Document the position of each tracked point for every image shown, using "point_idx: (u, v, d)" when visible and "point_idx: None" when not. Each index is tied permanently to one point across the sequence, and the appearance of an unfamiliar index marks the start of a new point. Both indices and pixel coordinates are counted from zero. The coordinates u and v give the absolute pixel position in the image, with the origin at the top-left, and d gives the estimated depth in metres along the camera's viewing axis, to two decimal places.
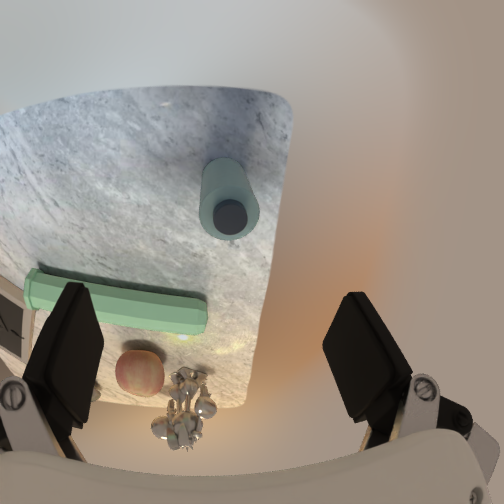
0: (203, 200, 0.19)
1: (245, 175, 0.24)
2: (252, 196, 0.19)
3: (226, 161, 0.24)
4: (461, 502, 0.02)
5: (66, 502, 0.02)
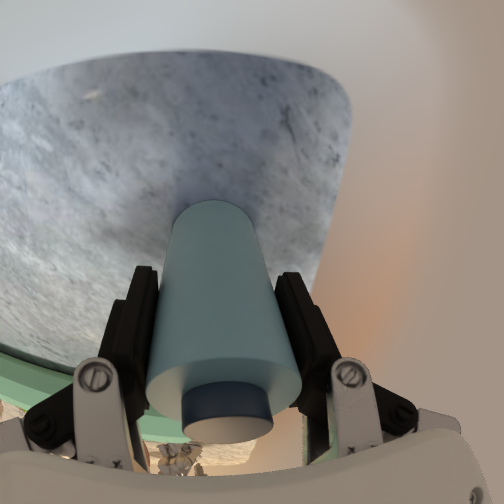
0: (150, 381, 0.06)
1: (259, 252, 0.11)
2: (288, 370, 0.06)
3: (216, 215, 0.12)
4: (461, 502, 0.02)
5: (66, 502, 0.02)
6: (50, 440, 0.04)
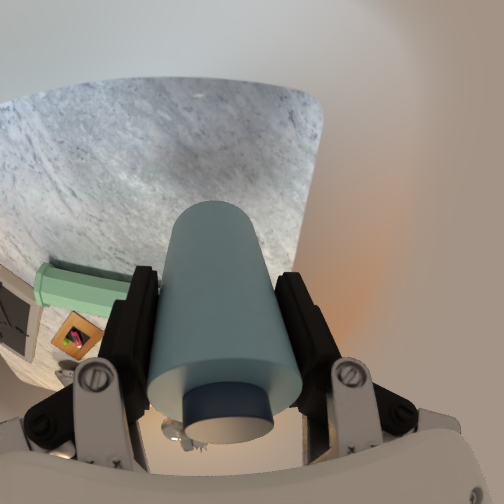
0: (151, 381, 0.06)
1: (259, 252, 0.11)
2: (289, 371, 0.06)
3: (217, 215, 0.12)
4: (461, 502, 0.02)
5: (66, 502, 0.02)
6: (51, 440, 0.04)
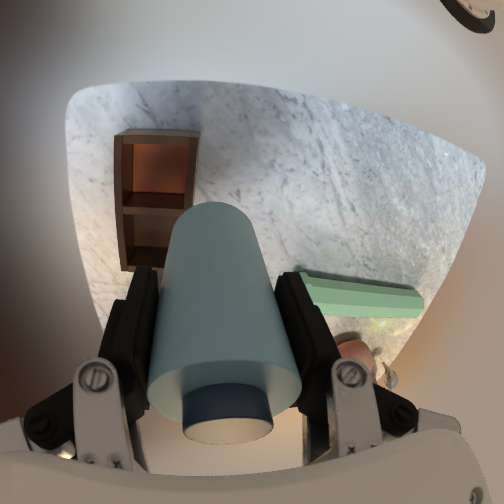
0: (151, 382, 0.06)
1: (259, 254, 0.11)
2: (288, 372, 0.06)
3: (216, 216, 0.12)
4: (461, 502, 0.02)
5: (66, 502, 0.02)
6: (50, 440, 0.04)
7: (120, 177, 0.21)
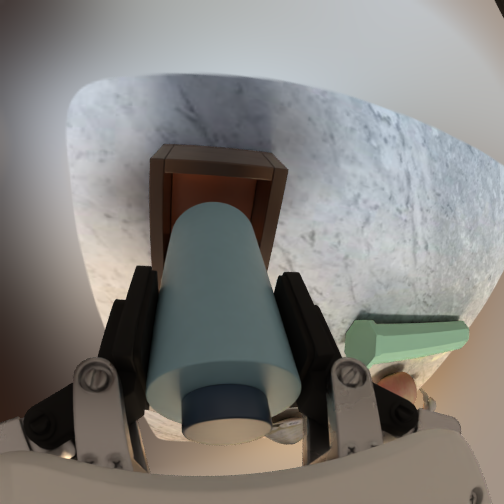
0: (150, 383, 0.06)
1: (258, 254, 0.11)
2: (287, 373, 0.06)
3: (216, 217, 0.12)
4: (461, 502, 0.02)
5: (66, 502, 0.02)
6: (51, 440, 0.04)
7: (160, 224, 0.15)
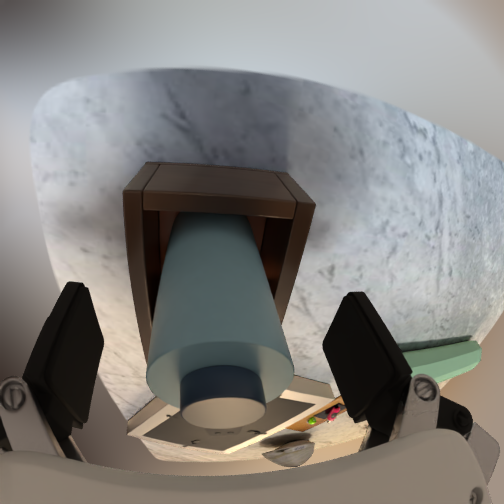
0: (150, 365, 0.06)
1: (254, 247, 0.12)
2: (280, 355, 0.07)
3: None
4: (461, 502, 0.02)
5: (66, 502, 0.02)
6: None
7: (143, 275, 0.11)
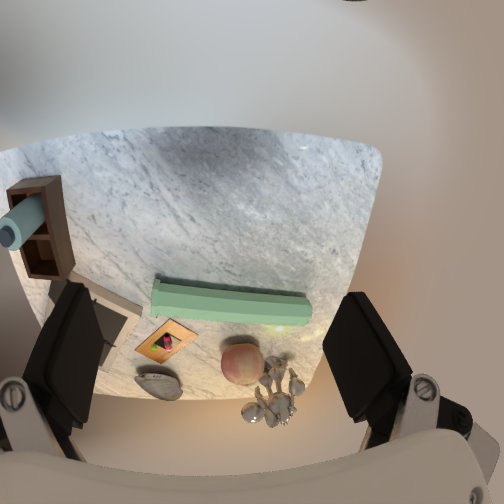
0: None
1: (37, 203, 0.26)
2: (13, 222, 0.21)
3: (33, 194, 0.26)
4: (461, 502, 0.02)
5: (66, 502, 0.02)
6: None
7: None
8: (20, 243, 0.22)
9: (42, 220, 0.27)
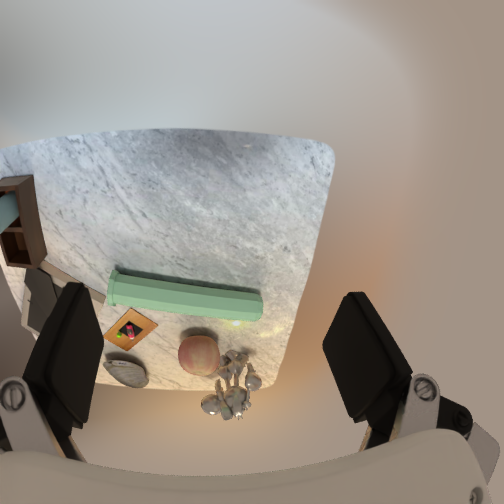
0: None
1: (12, 200, 0.27)
2: None
3: (10, 191, 0.27)
4: (461, 502, 0.02)
5: (66, 502, 0.02)
6: None
7: None
8: None
9: (16, 215, 0.28)
